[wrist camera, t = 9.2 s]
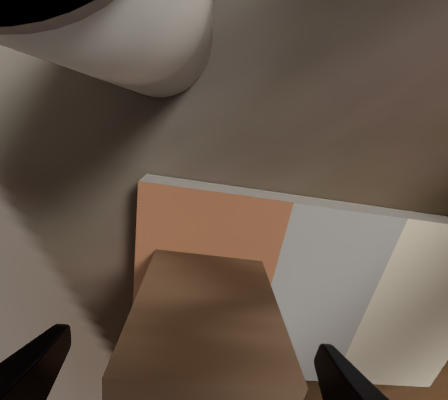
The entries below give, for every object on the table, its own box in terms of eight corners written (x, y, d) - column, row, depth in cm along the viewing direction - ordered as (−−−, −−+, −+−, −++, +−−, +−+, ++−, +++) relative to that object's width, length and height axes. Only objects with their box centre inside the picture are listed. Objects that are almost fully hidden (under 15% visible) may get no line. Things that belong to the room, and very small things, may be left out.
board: (497, 223, 11) (529, 235, 10) (412, 365, 15) (429, 386, 14) (146, 173, 10) (138, 181, 9) (137, 347, 13) (129, 370, 12)
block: (262, 261, 10) (308, 388, 5) (242, 338, 11) (264, 493, 7) (155, 249, 10) (102, 378, 5) (149, 331, 11) (103, 492, 6)
